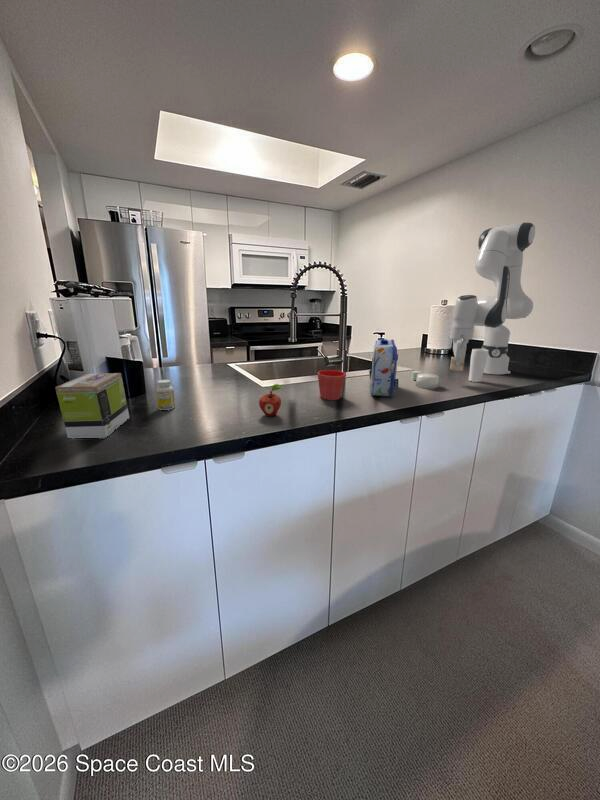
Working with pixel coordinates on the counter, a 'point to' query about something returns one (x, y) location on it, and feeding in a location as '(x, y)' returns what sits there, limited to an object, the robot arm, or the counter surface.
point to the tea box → (93, 405)
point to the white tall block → (477, 364)
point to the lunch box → (384, 368)
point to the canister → (427, 380)
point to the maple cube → (452, 365)
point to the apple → (270, 402)
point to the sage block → (414, 374)
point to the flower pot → (331, 384)
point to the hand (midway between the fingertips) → (456, 365)
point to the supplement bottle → (165, 395)
